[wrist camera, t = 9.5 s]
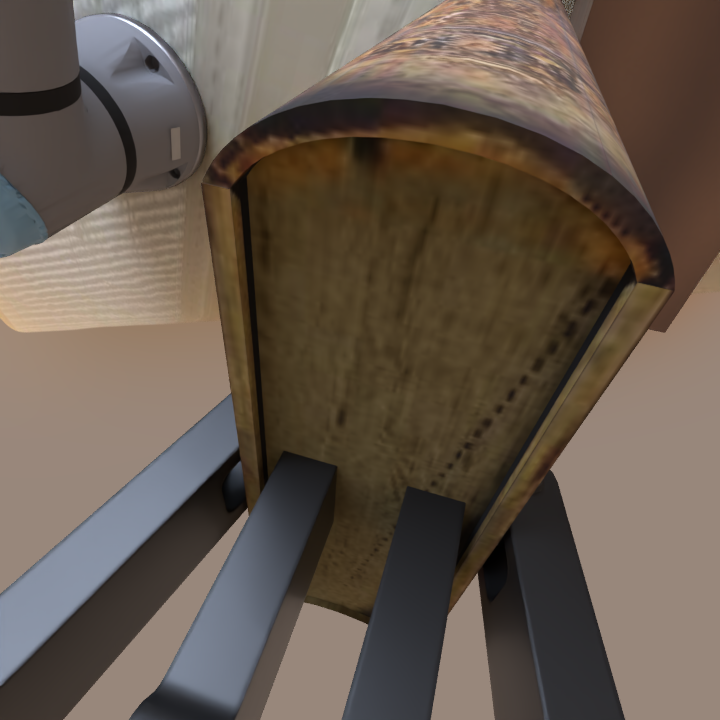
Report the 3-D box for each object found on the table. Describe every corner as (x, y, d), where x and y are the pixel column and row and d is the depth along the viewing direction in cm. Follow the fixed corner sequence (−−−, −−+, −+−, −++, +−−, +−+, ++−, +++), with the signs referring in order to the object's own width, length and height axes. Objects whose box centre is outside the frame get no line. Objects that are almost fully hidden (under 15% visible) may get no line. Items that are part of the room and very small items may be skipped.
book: (462, -35, 22) (180, 54, 5) (577, -18, 22) (763, 165, 4) (406, 257, 34) (261, 609, 16) (479, 275, 33) (414, 663, 15)
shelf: (505, 227, 43) (496, 295, 35) (593, -58, 30) (614, -63, 21) (639, 254, 41) (665, 333, 33) (798, -40, 28) (914, -37, 19)
